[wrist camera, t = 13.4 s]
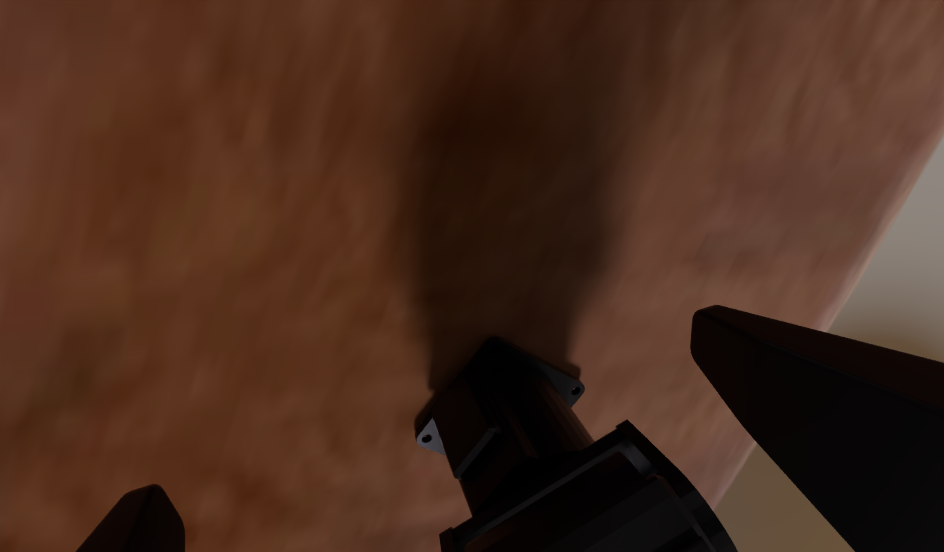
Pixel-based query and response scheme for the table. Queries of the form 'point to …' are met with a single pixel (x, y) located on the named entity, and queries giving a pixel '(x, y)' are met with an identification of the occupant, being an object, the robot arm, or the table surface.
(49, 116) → the table surface
